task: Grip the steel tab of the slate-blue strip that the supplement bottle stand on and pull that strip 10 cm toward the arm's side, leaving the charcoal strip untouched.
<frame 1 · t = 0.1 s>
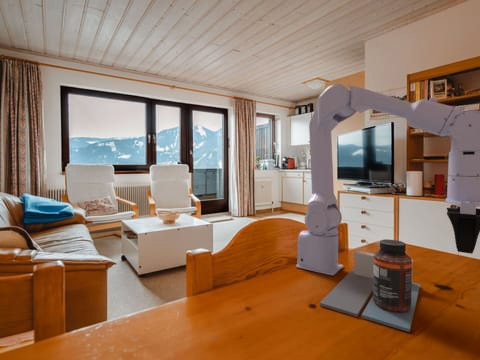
hand: (463, 247, 53), 10 cm above the table, fingers open, 7 cm apart
strip loaded: (394, 285, 52), point 3 cm above the table, slide at 0.2 cm, touching supplement bottle
strip empty: (354, 277, 56), point 3 cm above the table, slide at 0.0 cm
supplement bottle: (391, 306, 49), resting on strip loaded
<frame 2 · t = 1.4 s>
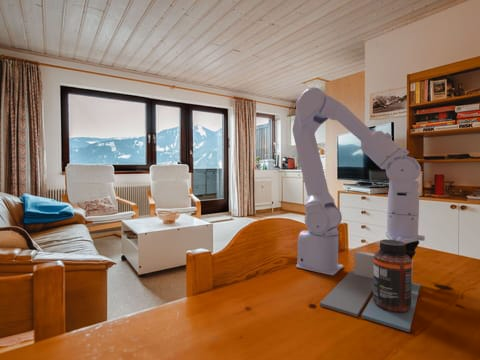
hand: (400, 276, 59), 2 cm above the table, fingers open, 7 cm apart
nothing on the table moved.
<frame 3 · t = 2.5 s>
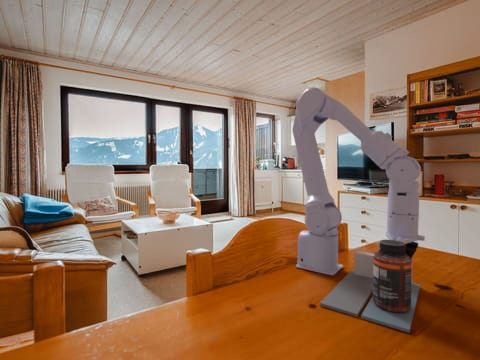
hand: (400, 276, 59), 2 cm above the table, fingers closed on strip loaded, 2 cm apart
strip loaded: (394, 286, 52), point 3 cm above the table, slide at 0.0 cm, touching supplement bottle, gripper
everything else where it was.
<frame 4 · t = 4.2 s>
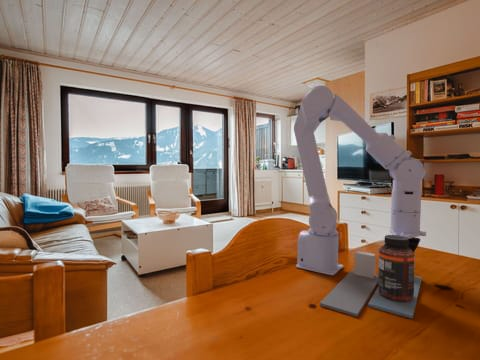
hand: (403, 270, 63), 2 cm above the table, fingers closed on strip loaded, 2 cm apart
strip loaded: (398, 278, 56), point 3 cm above the table, slide at 5.1 cm, touching supplement bottle, gripper
supplement bottle: (395, 296, 53), resting on strip loaded
everything else where it was.
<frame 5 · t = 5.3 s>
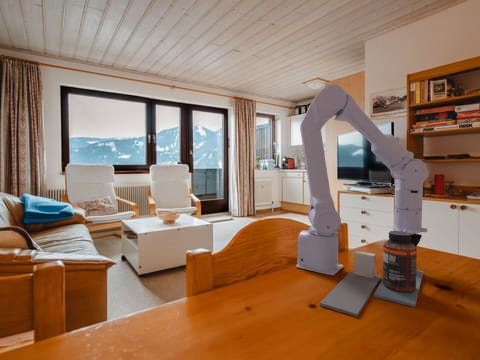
hand: (406, 264, 67), 2 cm above the table, fingers closed on strip loaded, 2 cm apart
strip loaded: (401, 271, 60), point 3 cm above the table, slide at 9.9 cm, touching supplement bottle, gripper
supplement bottle: (398, 288, 57), resting on strip loaded
everything else where it was.
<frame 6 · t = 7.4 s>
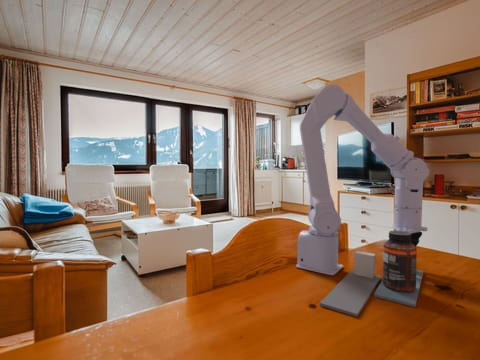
hand: (405, 263, 67), 2 cm above the table, fingers open, 7 cm apart
strip loaded: (401, 271, 60), point 3 cm above the table, slide at 10.0 cm, touching supplement bottle
everything else where it was.
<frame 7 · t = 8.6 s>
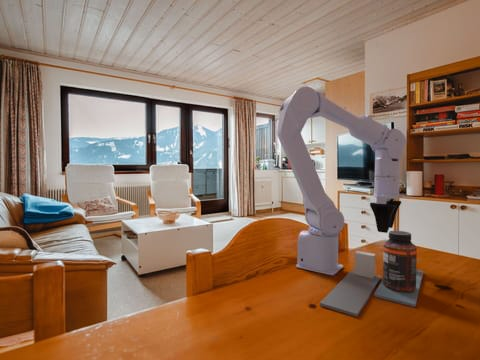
hand: (385, 229, 71), 9 cm above the table, fingers open, 7 cm apart
nothing on the table moved.
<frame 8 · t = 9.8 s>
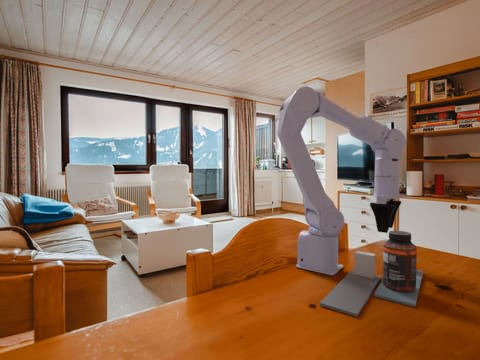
hand: (385, 229, 71), 9 cm above the table, fingers open, 7 cm apart
nothing on the table moved.
at the end: strip loaded slide at 10.0 cm; supplement bottle inside the target area (0.3 cm from its centre), resting on strip loaded; supplement bottle tilted 0° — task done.
